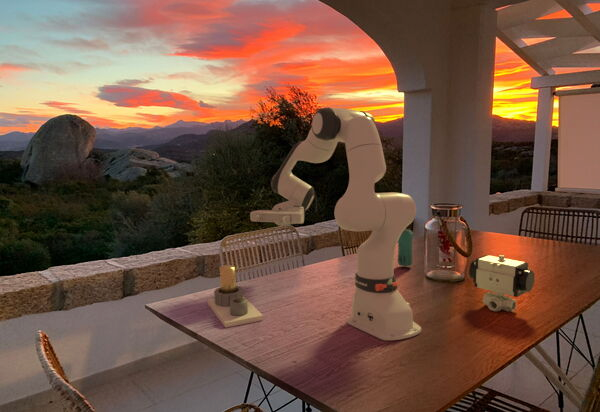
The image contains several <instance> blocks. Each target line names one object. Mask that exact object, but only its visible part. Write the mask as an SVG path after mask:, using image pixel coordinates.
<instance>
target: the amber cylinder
mask: <svg viewBox="0 0 600 412" xmlns="http://www.w3.org/2000/svg"><path fill="white" fill-rule="evenodd" d="M219 275H220V277H219V279H220V287H221V293H223V294H230V293H235V292H236V286H237V283H236V282H237V280H236V266H235V265H233V264H225V265H221V266H220V267H219Z"/></svg>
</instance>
